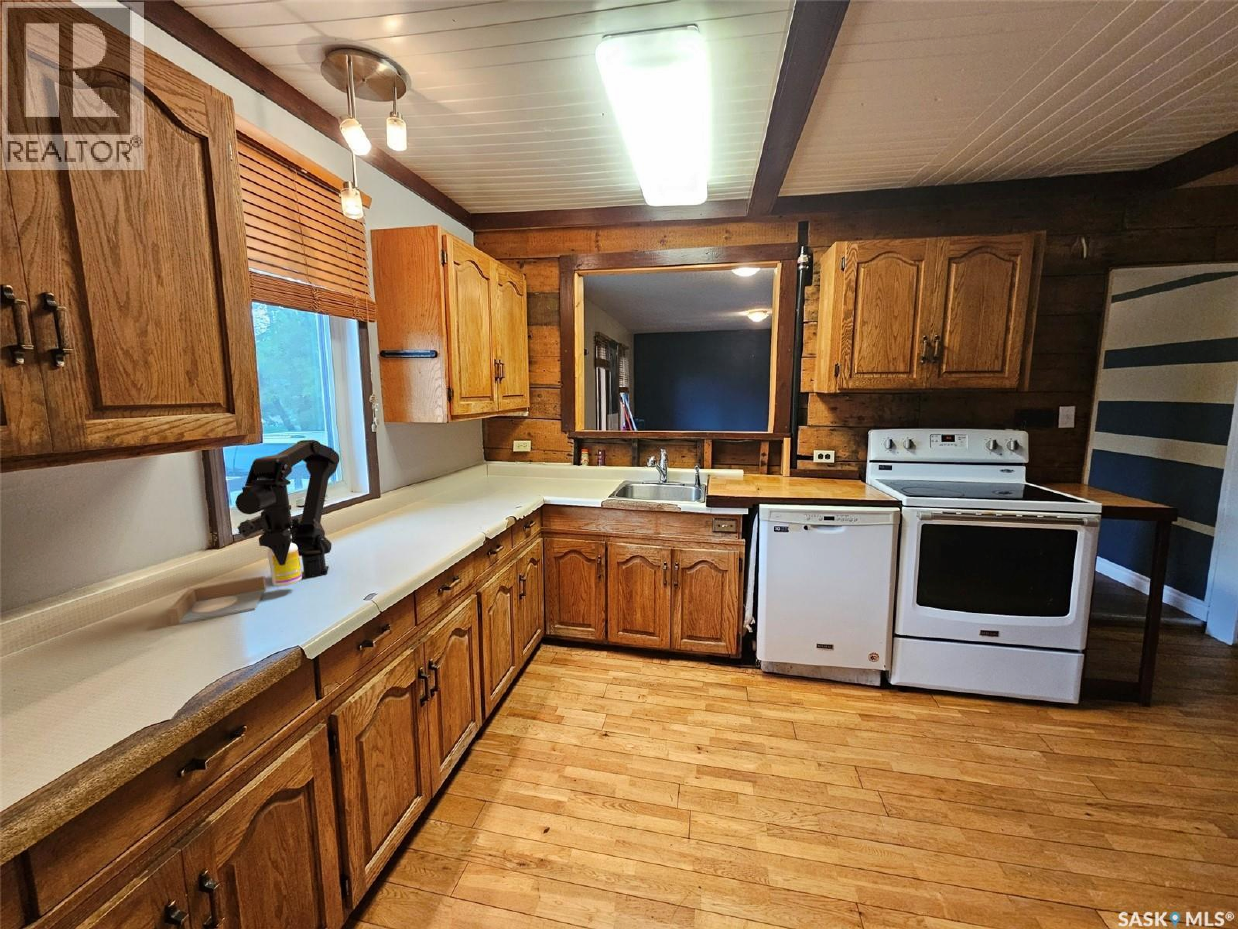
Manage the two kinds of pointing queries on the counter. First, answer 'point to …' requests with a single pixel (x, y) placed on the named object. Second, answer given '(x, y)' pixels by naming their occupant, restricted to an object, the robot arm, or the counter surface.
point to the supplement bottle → (285, 567)
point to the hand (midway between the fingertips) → (284, 560)
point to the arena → (217, 600)
